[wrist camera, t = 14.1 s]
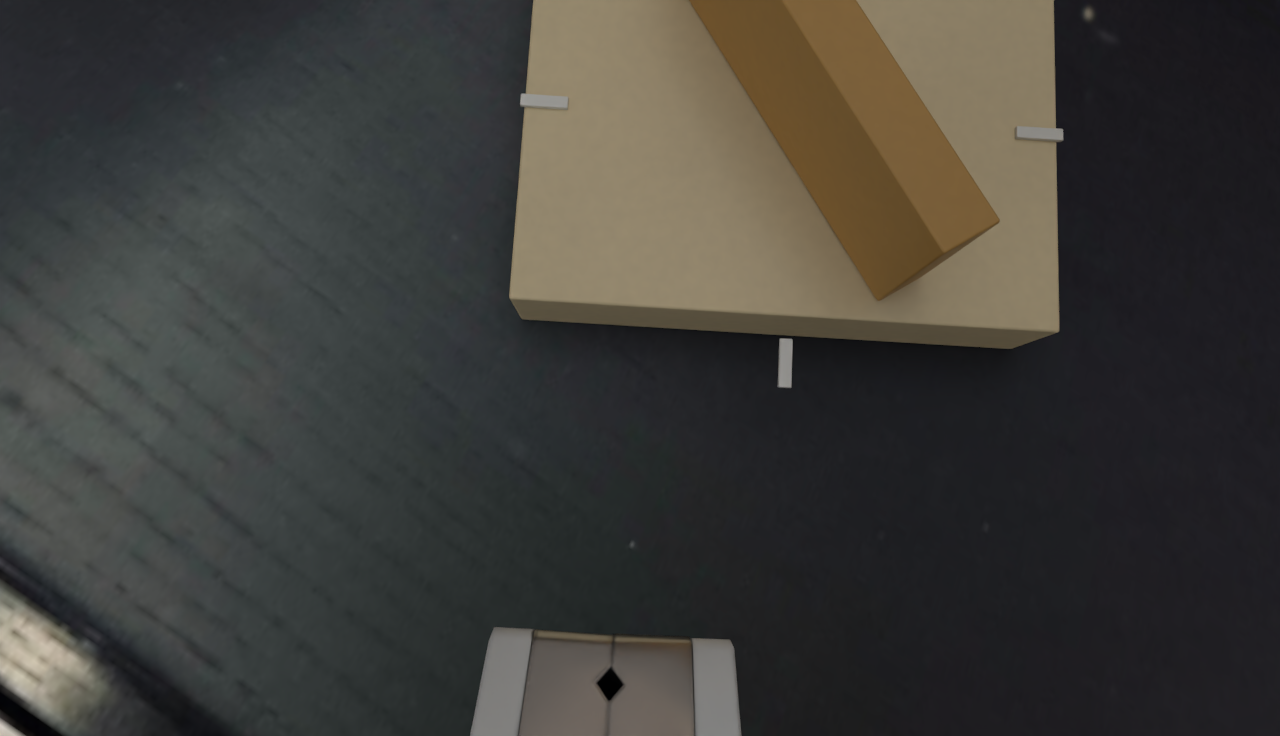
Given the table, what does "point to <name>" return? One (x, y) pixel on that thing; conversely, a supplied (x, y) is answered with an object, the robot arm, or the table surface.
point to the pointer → (853, 133)
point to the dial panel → (772, 181)
